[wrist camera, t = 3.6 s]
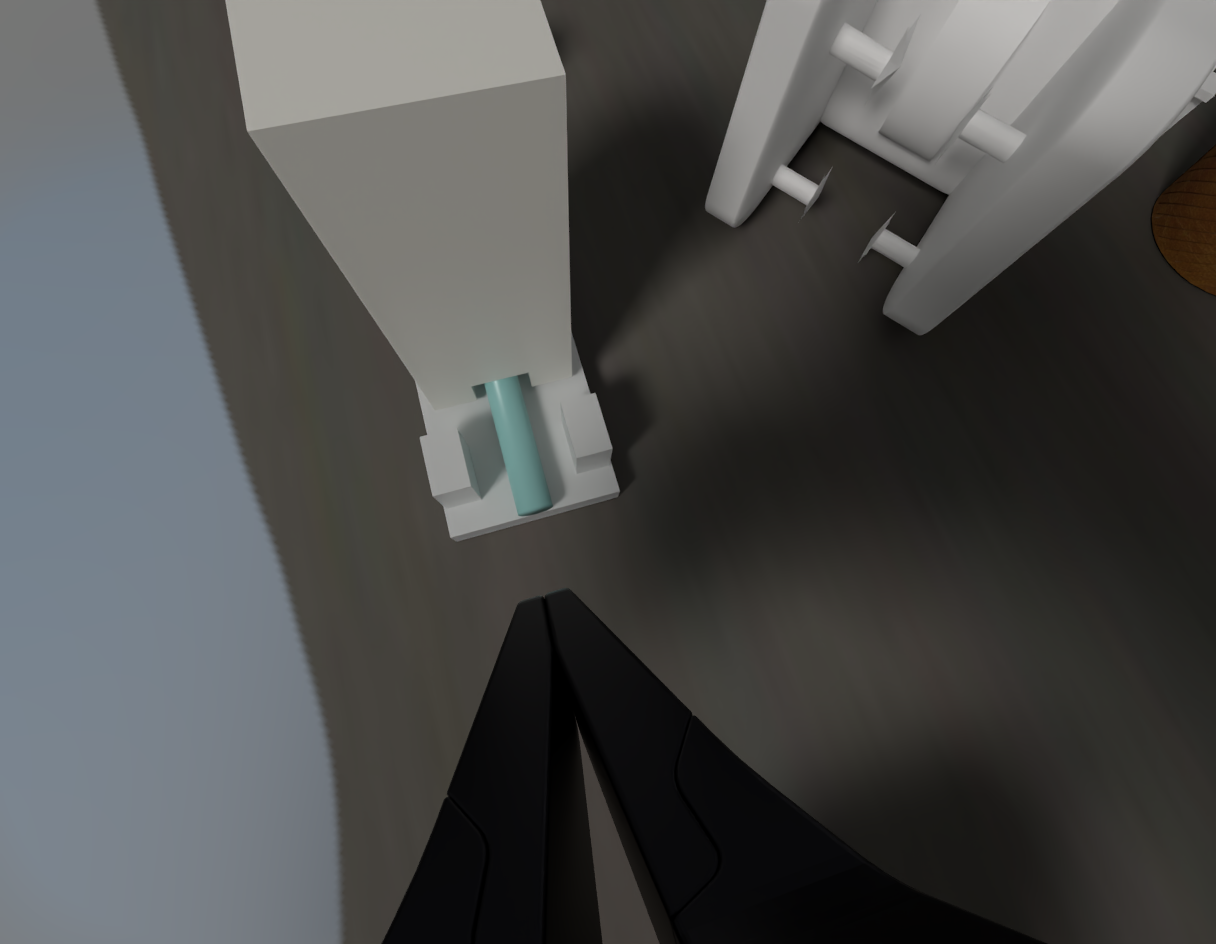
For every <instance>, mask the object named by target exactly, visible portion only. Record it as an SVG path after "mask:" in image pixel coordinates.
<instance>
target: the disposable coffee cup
mask: <svg viewBox="0 0 1216 944" xmlns="http://www.w3.org/2000/svg"><path fill="white" fill-rule="evenodd" d="M1152 226H1153V233H1154V237H1155V240H1156V243H1157V245H1158V247H1159V249H1160V251H1161V253H1162V254H1163V255H1164V257H1165V258H1166V260H1167V261H1168V262H1169V264H1170V265H1171V266H1172V267H1173V268H1174V269H1175V270H1176V271H1177V272H1178V273H1179V274H1180V275H1181V276H1182V277H1184V278H1185V279H1186V280H1188V281H1189V282H1190V283H1191V284H1193V285H1195V286H1197V287H1199V288H1200V289H1202V290H1204V291H1206V292H1208V293H1211V294H1213V295H1216V145H1215V146H1214V147H1213V148H1212V149H1210V150H1209V151H1208V152H1207V153H1206V154H1205V155H1204V156H1203V157H1202V158H1201V159H1199V160H1198V161H1197V162H1196V163H1195V164H1194V165H1193V166H1192V167H1190V168H1189V169H1188V170H1187V171H1186V172H1185V173H1184V174H1183V175H1181V176H1180V177H1179V178H1178V179H1177V180H1176V181H1175V182H1174V183H1173V184H1171V185H1170V186H1169V187H1168V188H1167V189H1166V190H1165V191H1164V192H1163V193H1162V194H1161V196H1160V197H1159V198H1158V199H1157V201H1156V203H1155V205H1154V209H1153V214H1152Z"/></svg>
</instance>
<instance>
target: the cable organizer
mask: <svg viewBox="0 0 1216 944" xmlns="http://www.w3.org/2000/svg"><path fill="white" fill-rule="evenodd" d="M1215 68H1216V0H767V1H766V4H765V8H764V11H763V14H762V18H761V21H760V24H759V27H758V31H757V34H756V37H755V40H754V44H753V47H752V50H751V54H750V57H749V60H748V63H747V67H746V70H745V73H744V77H743V80H742V83H741V86H740V90H739V93H738V96H737V99H736V103H735V106H734V109H733V113H732V116H731V119H730V122H729V126H728V129H727V132H726V135H725V139H724V142H723V145H722V149H721V152H720V155H719V158H718V162H717V165H716V168H715V172H714V175H713V178H712V181H711V185H710V188H709V191H708V194H707V198H706V202H705V210H706V211H707V212H708V213H710V214H712V215H713V216H715V217H716V218H718V219H720V220H721V221H723V222H725V223H726V224H728V225H730V226H731V227H733V228H736V227H738V226H739V225H741V224H742V223H743V222H744V221H745V220H746V219H747V218H748V217H749V216H750V215H751V213H752V212H753V211H754V210H755V208H756V207H757V206H758V205H759V203H760V202H761V201H762V199H763V198H764V197H765V195H766V194H767V193H768V191H769V190H770V188H771V187H772V186H775V187H776V188H778V189H780V190H781V191H783V192H785V193H786V194H788V195H790V196H792V197H793V198H795V199H797V200H798V201H800V202H802V203H803V204H805V205H807V206H806V208H805V209H806V210H805V209H804V210H805V212H804V213H803V215H802V217H801V219H802V218H803V216H804V215H805V214H806V212H807V211H808V210H809V209H810V207H811V206H812V205H813V204H814V202H815V201H816V200H817V198H818V197H819V195H820V193H821V191H822V189H823V186H824V184H825V182H826V180H827V178H828V176H829V174H830V171H831V170H830V171H829V173H828V174H827V175H826V177H825V176H824V177H825V178H823V179H822V181H821V183H820V185H819V186H818V185H817V184H815V183H813V182H812V181H810V180H808V179H807V178H805V177H803V176H801V175H800V174H798V173H796V172H795V171H793V170H791V169H789V168H788V167H787V166H788V164H789V163H790V162H791V160H792V159H793V158H794V156H795V155H796V153H797V152H798V151H799V149H800V148H801V147H802V145H803V144H804V143H805V141H806V140H807V139H808V137H809V136H810V135H811V133H812V132H813V131H814V129H815V128H816V127H817V125H818V124H819V122H820V121H821V122H822V123H823V124H824V125H826V126H827V127H829V128H831V129H833V130H834V131H836V132H838V133H840V134H841V135H843V136H845V137H847V138H848V139H850V140H852V141H854V142H855V143H857V144H859V145H861V146H862V147H864V148H866V149H867V150H869V151H871V152H873V153H874V154H876V155H878V156H880V157H881V158H883V159H885V160H887V161H888V162H890V163H892V164H894V165H895V166H897V167H899V168H901V169H902V170H904V171H906V172H908V173H909V174H911V175H913V176H915V177H916V178H918V179H920V180H922V181H923V182H925V183H927V184H929V185H930V186H932V187H934V188H936V189H937V190H939V191H941V192H943V193H945V194H948V195H949V196H948V197H947V199H946V201H945V202H944V204H943V205H942V207H941V209H940V210H939V212H938V213H937V215H936V217H935V218H934V220H933V221H932V223H931V225H930V226H929V228H928V229H927V231H926V233H925V234H924V236H923V237H922V239H921V241H920V242H919V244H918V245H917V247H915V246H914V245H912V244H910V243H909V242H907V241H905V240H904V239H902V238H900V237H898V236H897V235H895V234H893V233H892V232H890V231H888V230H887V229H885V228H886V227H887V225H888V224H889V223H890V222H889V221H890V219H891V218H892V216H893V215H894V214H895V213H894V214H893V215H892V216H891V217H890V218H889V219H888V220H887V222H886V223H885V224H884V225H883V226H882V227H881V228H880V229H879V230H878V231H877V232H876V233H875V234H874V235H873V237H872V238H871V240H870V242H869V243H868V245H867V247H866V249H865V251H864V252H863V254H862V256H861V258H860V260H861V259H862V257H863V256H864V255H866V254H867V253H868V251H869V250H870V248H872V249H874V250H875V251H877V252H879V253H881V254H882V255H884V256H886V257H887V258H889V259H891V260H892V261H894V262H896V263H897V264H899V265H901V266H902V267H904V268H903V269H902V271H901V273H900V274H899V276H898V278H897V279H896V281H895V283H894V284H893V286H892V288H891V290H890V292H889V294H888V296H887V298H886V300H885V303H884V306H883V314H884V315H886V316H887V317H889V318H891V319H892V320H894V321H896V322H897V323H899V324H901V325H902V326H904V327H905V328H907V329H909V330H910V331H912V332H914V333H915V334H917V335H923V334H925V333H927V332H929V331H930V330H932V329H933V328H934V327H936V326H937V325H938V324H939V323H941V322H942V321H943V320H944V319H945V318H947V317H948V316H949V315H950V314H951V313H953V312H954V311H955V310H956V309H958V308H959V307H960V306H961V305H962V304H964V303H965V302H966V301H967V300H969V299H970V298H971V297H972V296H973V295H975V294H976V293H977V292H978V291H979V290H981V289H982V288H983V287H984V286H986V285H987V284H988V283H989V282H990V281H992V280H993V279H994V278H995V277H997V276H998V275H999V274H1000V273H1001V272H1003V271H1004V270H1005V269H1006V268H1007V267H1009V266H1010V265H1011V264H1012V263H1014V262H1015V261H1016V260H1017V259H1018V258H1020V257H1021V256H1022V255H1023V254H1024V253H1026V252H1027V251H1028V250H1029V249H1031V248H1032V247H1033V246H1034V245H1035V244H1037V243H1038V242H1039V241H1040V240H1042V239H1043V238H1044V237H1045V236H1046V235H1048V234H1049V233H1050V232H1051V231H1052V230H1054V229H1055V228H1056V227H1057V226H1059V225H1060V224H1061V223H1062V222H1063V221H1065V220H1066V219H1067V218H1068V217H1070V216H1071V215H1072V214H1073V213H1074V212H1076V211H1077V210H1078V209H1079V208H1080V207H1082V206H1083V205H1084V204H1085V203H1087V202H1088V201H1089V200H1090V199H1091V198H1093V197H1094V196H1095V195H1096V194H1098V193H1099V192H1100V191H1101V190H1102V189H1104V188H1105V187H1106V186H1107V185H1108V184H1110V183H1111V182H1112V181H1113V180H1115V179H1116V178H1117V177H1118V176H1119V175H1121V174H1122V173H1123V172H1124V171H1125V170H1126V169H1127V168H1129V167H1130V166H1131V165H1132V164H1133V163H1134V162H1135V161H1136V160H1137V159H1138V158H1139V157H1140V156H1141V155H1143V154H1144V153H1145V152H1146V151H1147V150H1148V149H1149V148H1150V147H1151V146H1152V145H1153V144H1154V143H1155V141H1156V140H1157V139H1158V138H1159V137H1160V136H1161V135H1162V134H1164V133H1165V132H1166V131H1167V130H1168V129H1170V128H1171V127H1172V126H1173V125H1174V124H1176V123H1177V122H1178V121H1179V120H1180V119H1182V118H1183V117H1184V116H1185V115H1186V114H1188V113H1189V112H1190V111H1191V110H1192V109H1194V108H1195V107H1196V106H1197V105H1198V104H1200V103H1201V102H1202V101H1203V102H1205V103H1206V102H1207V101H1209V100H1210V99H1211V98H1212V97H1213V96H1215V94H1216V73H1215V72H1213V71H1214V69H1215ZM831 169H832V168H831ZM801 219H800V220H801ZM888 222H889V223H888ZM860 260H859V261H860ZM859 261H858V262H859ZM857 264H858V263H857Z"/></svg>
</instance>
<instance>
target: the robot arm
mask: <svg viewBox="0 0 1216 944" xmlns="http://www.w3.org/2000/svg"><path fill="white" fill-rule="evenodd" d="M575 717H576V718H575ZM576 720H577V723H576ZM577 724H578V727H579V730H580V733H581V736H582V739H583V742H584V744H585V747H586V750H587V752H588V755H589V758H590V760H591V763H592V765H593V768H594V771H595V773H596V776H597V779H598V781H599V784H600V787H601V789H602V792H603V795H604V797H605V800H606V803H607V805H608V808H609V811H610V813H611V816H612V818H613V821H614V824H615V826H616V829H617V832H618V834H619V837H620V840H621V842H622V845H623V848H624V850H625V853H626V856H627V858H628V861H629V864H630V866H631V869H632V872H633V874H634V877H635V879H636V882H637V885H638V887H639V890H640V893H641V895H642V898H643V901H644V903H645V906H646V909H647V911H648V914H649V917H650V919H651V922H652V925H653V927H654V930H655V932H656V935H657V938H658V940H659V943H660V944H1047V943H1044V942H1042V941H1039V940H1037V939H1035V938H1032V937H1030V936H1027V935H1025V934H1022V933H1020V932H1017V931H1015V930H1013V929H1010V928H1008V927H1005V926H1003V925H1000V924H998V923H995V922H993V921H990V920H988V919H986V918H983V917H981V916H978V915H976V914H973V913H971V912H968V911H966V910H963V909H961V908H959V907H956V906H954V905H951V904H949V903H946V902H944V901H941V900H939V899H937V898H934V897H932V896H929V895H927V894H925V893H922V892H920V891H918V890H916V889H914V888H912V887H910V886H908V885H906V884H904V883H902V882H900V881H899V880H897V879H895V878H894V877H892V876H890V875H889V874H887V873H885V872H884V871H882V870H881V869H879V868H878V867H877V866H875V865H874V864H872V863H871V862H869V861H868V860H867V859H865V858H864V857H863V856H861V855H860V854H859V853H857V852H856V851H855V850H853V849H852V848H851V847H850V846H848V845H847V844H846V843H844V842H843V841H842V840H841V839H839V838H838V837H837V836H836V835H834V834H833V833H832V832H830V831H829V830H828V829H827V828H825V827H824V826H823V825H822V824H820V823H819V822H818V821H816V820H815V819H814V818H813V817H811V816H810V815H809V814H808V813H806V812H805V811H804V810H803V809H801V808H800V807H799V806H797V805H796V804H795V803H794V802H792V801H791V800H790V799H789V798H787V797H786V796H785V795H783V794H782V793H781V792H780V791H778V790H777V789H776V788H775V787H773V786H772V785H771V784H770V783H768V782H767V781H766V780H765V779H764V778H762V777H761V776H760V775H759V774H758V773H756V772H755V771H754V770H753V769H752V768H750V767H749V766H748V765H747V764H746V763H744V762H743V761H742V760H741V759H740V758H739V757H738V756H736V755H735V754H734V753H733V752H732V751H731V750H730V749H729V748H728V747H727V746H726V745H725V744H724V743H723V742H722V741H721V740H720V739H718V738H717V737H716V736H715V735H714V734H713V733H712V732H711V731H710V730H709V729H708V728H707V727H706V726H705V725H704V724H703V723H702V722H701V721H700V720H699V719H698V718H697V717H696V716H692V712H691V711H690V710H689V709H688V708H687V707H686V706H685V705H684V704H683V703H682V702H681V701H680V700H679V699H678V698H677V697H676V696H675V695H674V694H673V693H672V692H671V691H670V690H669V689H668V688H667V687H666V686H665V685H664V684H663V683H662V682H661V681H660V680H659V679H658V678H657V677H656V676H655V675H654V674H653V673H652V672H651V671H650V670H649V668H648V667H647V666H646V665H645V664H644V663H643V662H642V661H641V660H640V659H639V658H638V657H637V656H636V655H635V654H634V653H633V652H632V651H631V650H630V649H629V648H628V647H627V646H626V645H625V644H624V643H623V642H622V641H621V640H620V639H619V638H618V637H617V636H616V635H615V634H614V633H613V632H612V631H611V630H610V629H609V628H608V627H607V626H606V625H605V624H604V623H603V622H602V621H601V620H600V619H599V618H598V617H597V616H596V615H595V614H594V613H593V612H592V611H591V610H590V609H589V608H588V607H587V606H586V605H585V604H584V603H583V602H582V601H581V600H580V599H579V598H578V597H577V596H576V595H575V594H574V593H573V592H572V591H571V590H570V589H569V588H564V589H560V590H557V591H553V592H550V593H547V594H546V595H545V599H544V597H543V596H536V597H533V598H529V599H526V600H523V601H520V602H519V603H518V605H517V607H516V610H515V612H514V615H513V618H512V620H511V623H510V626H509V628H508V631H507V634H506V636H505V639H504V642H503V644H502V647H501V650H500V652H499V655H498V658H497V660H496V663H495V666H494V668H493V671H492V674H491V676H490V679H489V682H488V684H487V687H486V690H485V692H484V695H483V698H482V700H481V703H480V706H479V708H478V711H477V714H476V716H475V719H474V722H473V724H472V727H471V730H470V732H469V735H468V738H467V740H466V743H465V746H464V748H463V751H462V754H461V756H460V759H459V762H458V764H457V767H456V770H455V772H454V775H453V778H452V780H451V783H450V786H449V788H448V791H447V795H448V797H446V798H445V799H444V801H443V804H442V806H441V809H440V812H439V814H438V817H437V820H436V823H435V825H434V828H433V830H432V833H431V835H430V838H429V840H428V843H427V845H426V848H425V850H424V852H423V855H422V857H421V860H420V862H419V865H418V867H417V870H416V872H415V874H414V876H413V878H412V880H411V883H410V885H409V887H408V889H407V891H406V893H405V895H404V898H403V900H402V902H401V904H400V906H399V908H398V911H397V913H396V915H395V917H394V919H393V921H392V923H391V925H390V927H389V929H388V931H387V933H386V935H385V938H384V940H383V942H382V944H602V935H601V926H600V917H599V909H598V900H597V891H596V882H595V873H594V864H593V856H592V847H591V838H590V829H589V820H588V811H587V803H586V794H585V785H584V776H583V767H582V758H581V750H580V741H579V734H578V728H577Z"/></svg>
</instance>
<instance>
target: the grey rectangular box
mask: <svg viewBox="0 0 1216 944" xmlns="http://www.w3.org/2000/svg"><path fill="white" fill-rule="evenodd" d="M225 1H226V7H227V13H228V19H229V25H230V31H231V37H232V43H233V49H234V55H235V61H236V67H237V73H238V79H239V85H240V91H241V97H242V103H243V109H244V115H245V121H246V127H247V132H248V133H249V135H250V136H251V138H252V139H253V141H254V142H255V144H256V145H257V147H258V148H259V150H260V151H261V153H262V154H263V156H264V157H265V159H266V160H267V161H268V163H269V164H270V166H271V167H272V169H273V170H274V172H275V173H276V175H277V176H278V178H279V179H280V181H281V182H282V184H283V185H284V187H285V188H286V190H287V191H288V193H289V194H290V196H291V197H292V199H293V200H294V202H295V203H296V205H297V206H298V207H299V209H300V210H301V212H302V213H303V215H304V216H305V218H306V219H307V221H308V222H309V224H310V225H311V227H312V228H313V230H314V231H315V233H316V234H317V236H318V237H319V239H320V240H321V242H322V243H323V245H324V246H325V248H326V249H327V251H328V252H329V254H330V255H331V256H332V258H333V259H334V261H335V262H336V264H337V265H338V267H339V268H340V270H341V271H342V273H343V274H344V276H345V277H346V279H347V280H348V282H349V283H350V285H351V286H352V288H353V289H354V291H355V292H356V294H357V295H358V297H359V298H360V300H361V301H362V302H363V304H364V305H365V307H366V308H367V310H368V311H369V313H370V314H371V316H372V317H373V319H374V320H375V322H376V323H377V325H378V326H379V328H380V329H381V331H382V332H383V334H384V335H385V337H386V338H387V340H388V341H389V343H390V344H391V346H392V347H393V348H394V350H395V351H396V353H397V354H398V356H399V357H400V359H401V360H402V362H403V363H404V365H405V366H406V368H407V369H408V371H409V372H410V374H411V375H412V377H413V378H414V380H415V381H416V383H417V384H418V386H419V387H420V389H421V390H422V392H423V393H424V394H425V396H426V397H427V399H428V400H429V402H430V403H431V405H432V406H433V408H434V409H435V410H439V409H443V408H447V407H451V406H455V405H459V404H463V403H468V402H472V401H476V400H477V397H476V393H475V389H474V386H475V385H479V384H484V383H488V382H492V381H496V380H500V379H504V378H508V377H512V376H516V375H521V374H525V373H528V374H529V378H530V382H531V385H532V386H536V385H541V384H545V383H549V382H553V381H557V380H561V379H565V378H569V377H572V350H571V302H570V254H569V207H568V159H567V111H566V74H565V71H564V68H563V65H562V62H561V59H560V56H559V54H558V51H557V48H556V45H555V42H554V39H553V36H552V33H551V30H550V27H549V24H548V22H547V19H546V16H545V13H544V10H543V7H542V4H541V1H540V0H225Z"/></svg>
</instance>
